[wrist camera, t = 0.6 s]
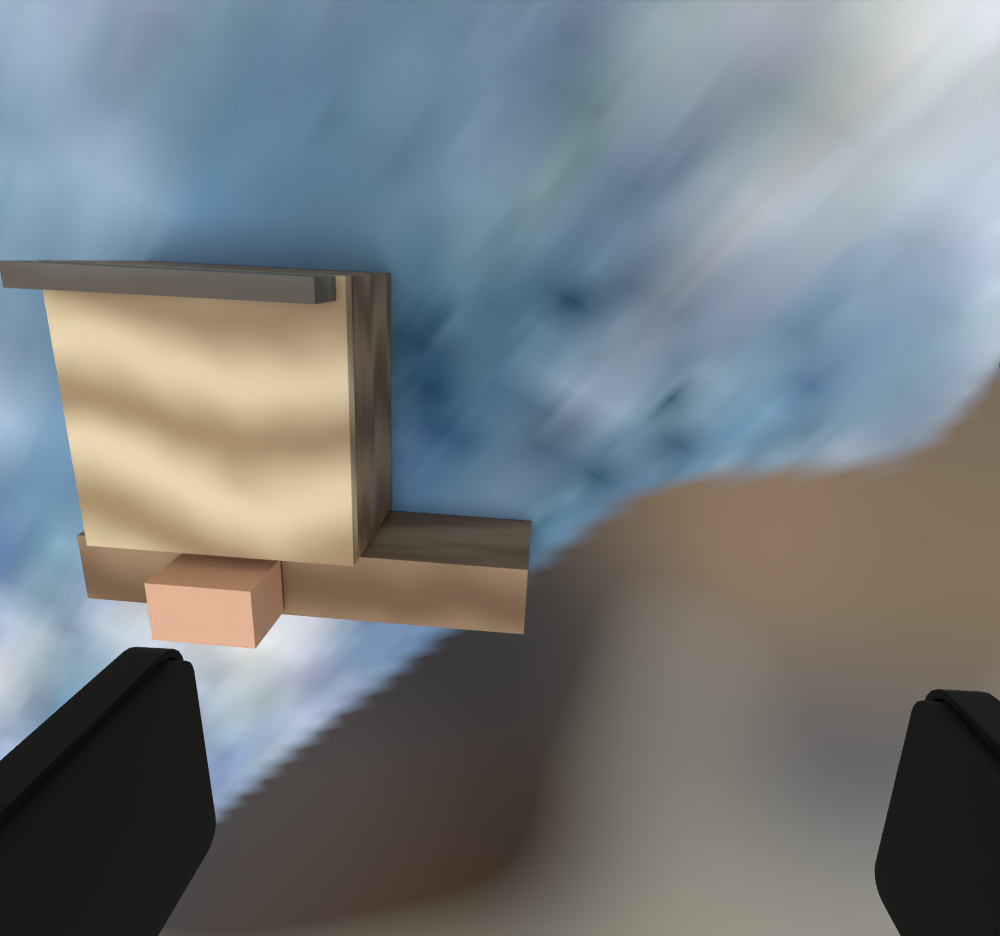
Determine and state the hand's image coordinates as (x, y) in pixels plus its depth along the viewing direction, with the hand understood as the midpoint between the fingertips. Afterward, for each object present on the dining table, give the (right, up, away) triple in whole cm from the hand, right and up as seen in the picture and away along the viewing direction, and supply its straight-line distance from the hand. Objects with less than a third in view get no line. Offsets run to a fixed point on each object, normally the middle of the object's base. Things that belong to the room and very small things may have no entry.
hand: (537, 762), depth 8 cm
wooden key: (-17, -3, +31) cm, 35 cm away
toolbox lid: (-16, +7, +27) cm, 32 cm away
